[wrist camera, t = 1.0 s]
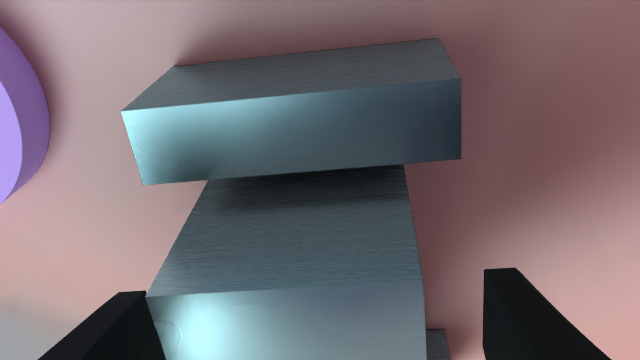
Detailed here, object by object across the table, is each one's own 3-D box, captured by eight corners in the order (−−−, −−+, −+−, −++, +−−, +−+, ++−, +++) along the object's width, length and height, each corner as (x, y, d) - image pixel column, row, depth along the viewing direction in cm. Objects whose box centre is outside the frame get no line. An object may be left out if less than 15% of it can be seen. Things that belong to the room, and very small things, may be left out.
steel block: (396, 122, 13) (422, 280, 7) (408, 317, 15) (434, 537, 10) (231, 137, 13) (144, 296, 8) (271, 324, 16) (227, 538, 10)
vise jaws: (437, 38, 12) (460, 77, 9) (447, 455, 18) (462, 551, 15) (172, 66, 12) (121, 111, 10) (270, 458, 18) (255, 552, 16)
